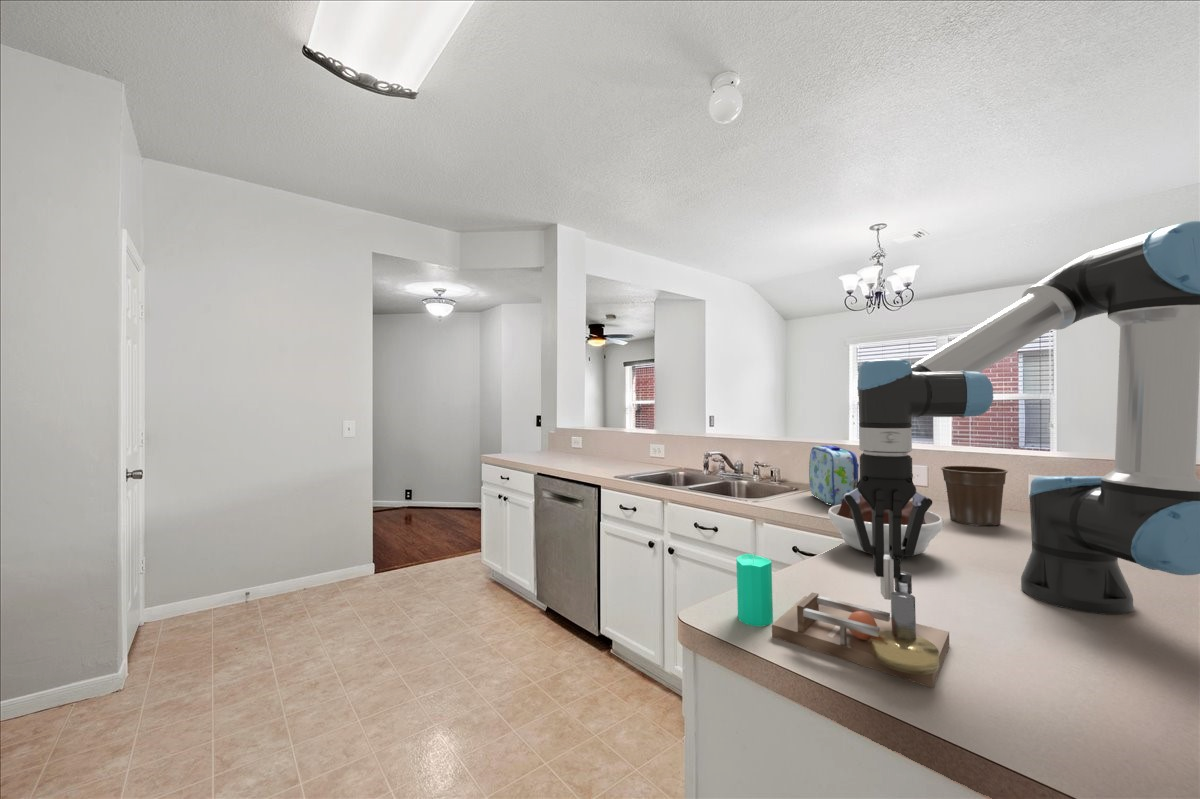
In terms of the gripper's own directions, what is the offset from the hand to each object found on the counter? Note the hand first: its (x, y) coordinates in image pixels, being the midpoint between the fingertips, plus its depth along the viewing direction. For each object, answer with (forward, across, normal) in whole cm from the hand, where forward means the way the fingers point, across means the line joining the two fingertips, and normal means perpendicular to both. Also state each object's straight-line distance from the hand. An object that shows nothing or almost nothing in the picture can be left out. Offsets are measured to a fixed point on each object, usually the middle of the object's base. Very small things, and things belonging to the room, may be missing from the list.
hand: (887, 596), depth 80 cm
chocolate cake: (+6, +10, +48) cm, 49 cm away
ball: (+4, -5, -8) cm, 10 cm away
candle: (+7, -21, 0) cm, 22 cm away
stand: (+6, -5, -4) cm, 9 cm away
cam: (+4, +1, -8) cm, 9 cm away
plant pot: (+5, +43, +85) cm, 95 cm away
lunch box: (+5, +7, +107) cm, 108 cm away
